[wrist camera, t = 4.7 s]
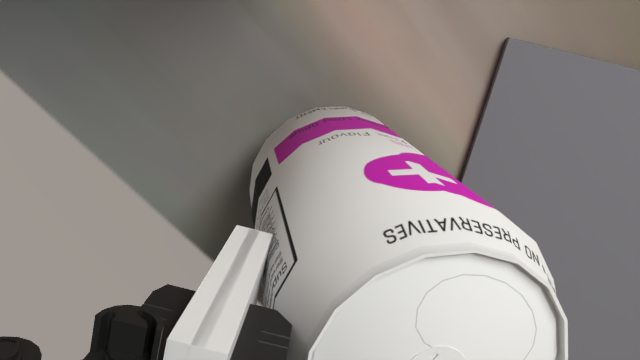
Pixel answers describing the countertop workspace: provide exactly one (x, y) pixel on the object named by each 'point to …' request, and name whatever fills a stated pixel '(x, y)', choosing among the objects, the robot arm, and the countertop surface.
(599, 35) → the countertop surface
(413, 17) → the countertop surface
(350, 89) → the countertop surface
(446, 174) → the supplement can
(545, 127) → the mat
